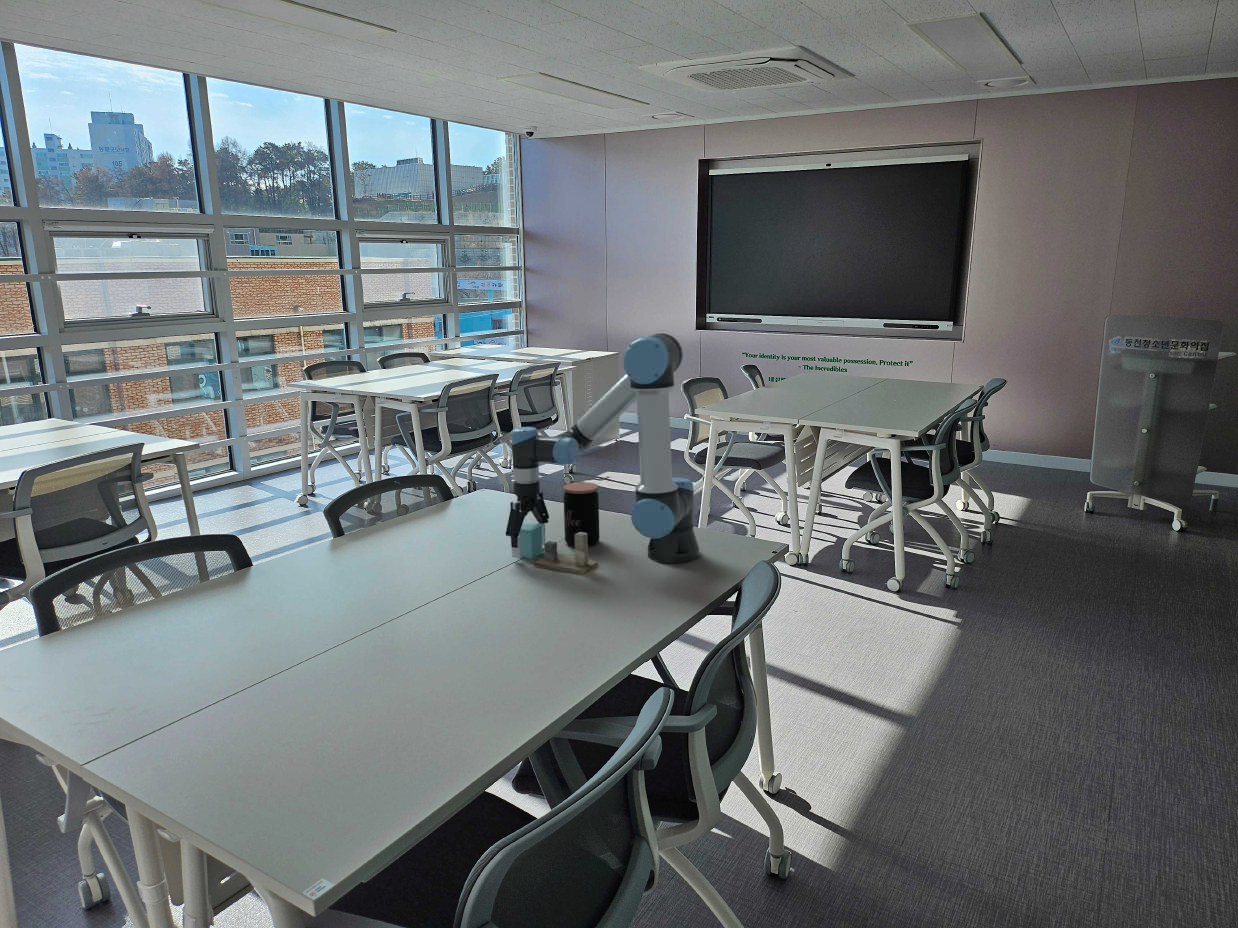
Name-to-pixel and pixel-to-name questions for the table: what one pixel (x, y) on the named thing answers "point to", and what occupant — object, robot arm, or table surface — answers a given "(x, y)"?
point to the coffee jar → (581, 512)
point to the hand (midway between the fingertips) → (529, 550)
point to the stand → (568, 563)
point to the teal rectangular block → (531, 540)
